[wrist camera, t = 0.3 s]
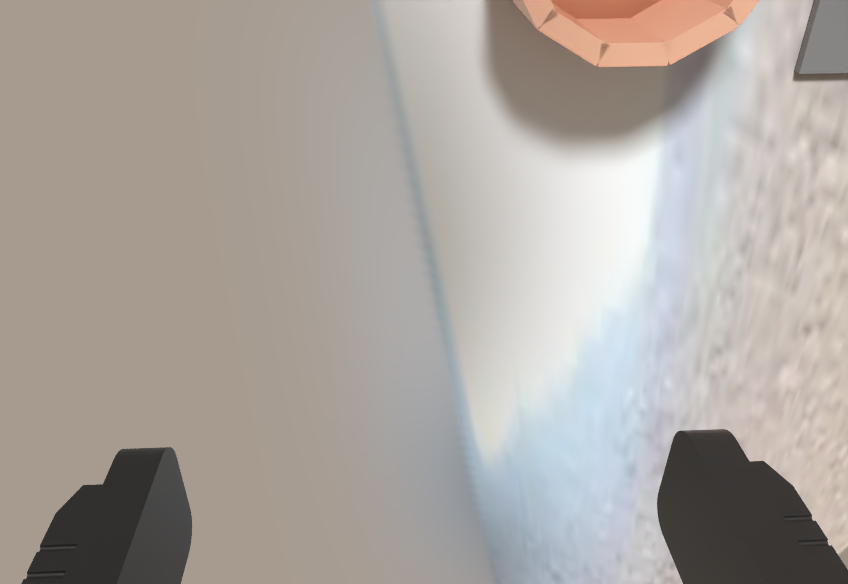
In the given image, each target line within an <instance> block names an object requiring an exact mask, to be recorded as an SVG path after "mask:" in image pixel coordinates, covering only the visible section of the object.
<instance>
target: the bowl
mask: <svg viewBox="0 0 848 584" xmlns="http://www.w3.org/2000/svg"><path fill="white" fill-rule="evenodd" d="M512 1H513V3H514V4H515V5H516V6H517V8H518V9H519V10H520V11H521V12H522V13H523V14H524V15H525V16H526V18H527V19H528V20H529V21H530V22H531V23H532V24H533V25H534V26H535V28H536V29H537V30H538V31H540V32H541V33H543V34H544V35H546V36H548V37H549V38H551V39H552V40H554V41H556V42H557V43H559V44H560V45H562V46H564V47H565V48H567V49H568V50H570V51H572V52H573V53H575V54H576V55H578V56H580V57H581V58H583V59H585V60H586V61H588V62H589V63H591V64H593V65H594V66H597V67H634V66H668V64H669V65H671V64H673V63H675V62H677V61H678V60H680V59H682V58H684V57H686V56H687V55H689V54H691V53H693V52H695V51H696V50H698V49H700V48H702V47H704V46H705V45H707V44H709V43H711V42H712V41H714V40H716V39H718V38H720V37H721V36H723V35H725V34H727V33H729V32H730V31H732V30H734V29H736V28H738V25H737V24H739V25H741V24H742V22H743V21H744V20H745V18H746V17H747V16H748V15H749V13H750V12H751V11H752V9H753V8H754V7H755V5H756V4H757V3H758V1H759V0H512Z"/></svg>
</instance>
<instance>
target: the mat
mask: <svg viewBox="0 0 848 584" xmlns="http://www.w3.org/2000/svg"><path fill="white" fill-rule="evenodd" d="M794 72H796V73H798V74H824V73H848V0H814V3H813V7H812V11H811V14H810V18H809V21H808V25H807V28H806V32H805V36H804V39H803V43H802V46H801V50H800V53H799V57H798V61H797V64H796V68H795V71H794Z"/></svg>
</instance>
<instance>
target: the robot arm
mask: <svg viewBox="0 0 848 584" xmlns="http://www.w3.org/2000/svg"><path fill="white" fill-rule="evenodd" d="M657 510H658V518H659V523H660V527H661V531H662V534H663V536H664V539H665V541H666V543H667V546H668V548H669V551H670V553H671V555H672V558H673V560H674V563H675V565H676V567H677V570H678V572H679V575H680V577H681V579H682V582H683V584H848V570H847V568H846V567H845V565H844V564H843V562H842V560H841V559H840V557H839V556H838V554H837V553H836V551H835V550H834V548H833V547H832V546H829V545H828V542H827V540H828V539H827V537H826V536H825V534H824V533H823V531H822V530H821V528H820V527H819V525H818V524H817V522H816V521H813V520H812V514H811V513H810V511H809V510H808V508H807V507H806V505H805V504H804V502H803V501H802V499H801V498H800V496H799V495H798V493H797V491H796V490H795V488H794V487H793V486H792V485H791V484H790V483H789V482H788V481H787V480H785V479H784V478H783V477H782V476H781V475H779V474H778V473H777V472H776V471H775V470H774V469H772V468H771V467H770V466H769V465H768V464H766V463H765V462H764V461H753V462H749V460H748V458H747V457H746V455H745V453H744V452H743V450H742V448H741V447H740V445H739V444H738V442H737V440H736V439H735V437H734V436H733V434H732V433H731V432H729V431H728V430H725V429H718V430H690V431H678V432H677V433H676V434H675V436H674V439H673V442H672V445H671V449H670V453H669V456H668V460H667V463H666V467H665V471H664V474H663V478H662V482H661V485H660V489H659V493H658V499H657ZM191 536H192V517H191V510H190V506H189V503H188V499H187V495H186V491H185V487H184V484H183V480H182V476H181V472H180V469H179V465H178V461H177V457H176V454H175V451H174V450H173V449H172V448H171V447H169V448H168V447H167V448H140V449H122V450H120V451H119V452H118V453H117V455H116V456H115V458H114V460H113V463H112V465H111V467H110V470H109V472H108V474H107V476H106V479H105V481H104V483H103V485H83V486H82V487H81V488H80V489H79V490H78V491H77V492H76V493H75V494H74V495H73V496H72V497H71V498H70V499H69V500H68V501H67V502H66V503H65V505H63V506H62V508H61V509H60V510H59V511H58V512H57V513H56V514H55V516H54V518H53V520H52V522H51V524H50V526H49V528H48V531H47V532H46V534H45V537H44V539H43V541H42V543H41V545H40V551H39V552H37V553H36V555H35V557H34V559H33V561H32V563H31V566H30V567H29V569H28V572H27V578H26V579H24V580H23V582H22V584H181V580H182V577H183V573H184V569H185V565H186V561H187V558H188V554H189V550H190V544H191Z"/></svg>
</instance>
